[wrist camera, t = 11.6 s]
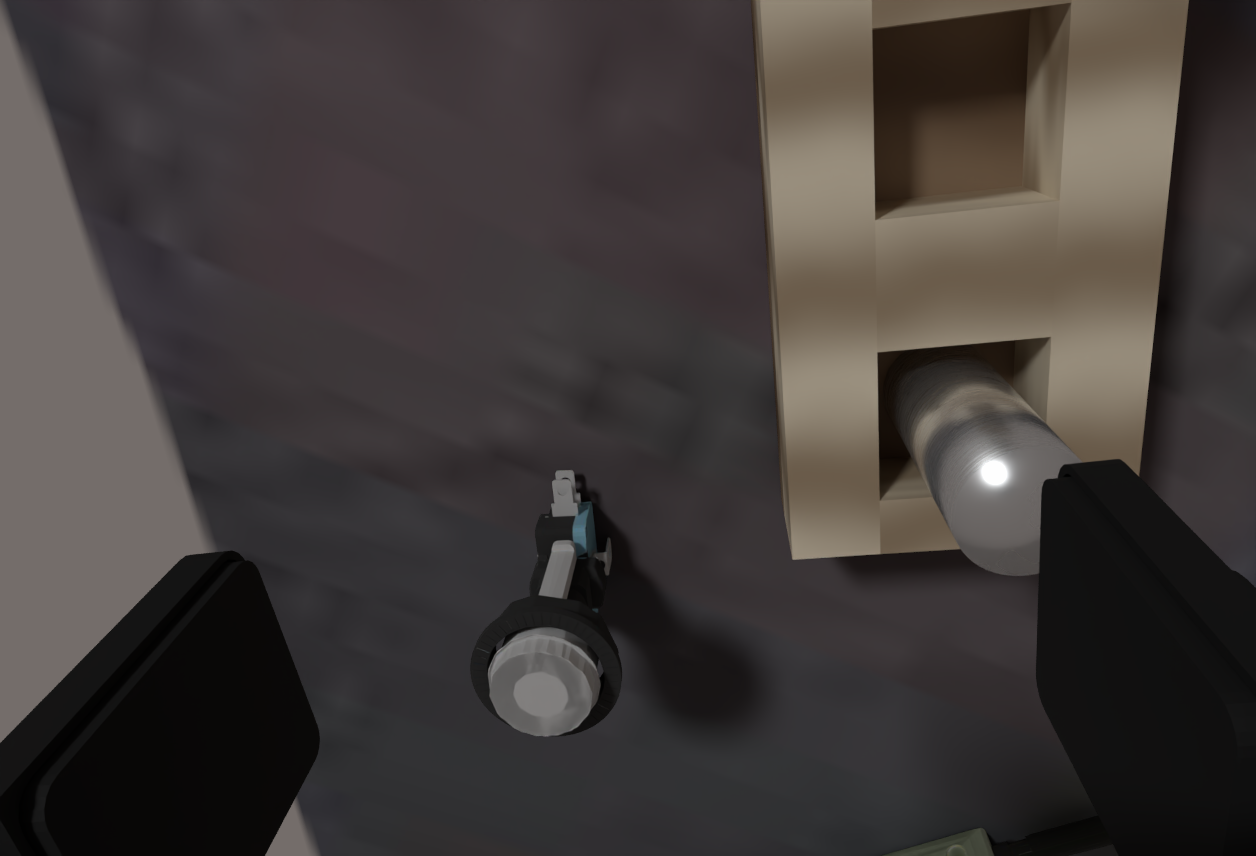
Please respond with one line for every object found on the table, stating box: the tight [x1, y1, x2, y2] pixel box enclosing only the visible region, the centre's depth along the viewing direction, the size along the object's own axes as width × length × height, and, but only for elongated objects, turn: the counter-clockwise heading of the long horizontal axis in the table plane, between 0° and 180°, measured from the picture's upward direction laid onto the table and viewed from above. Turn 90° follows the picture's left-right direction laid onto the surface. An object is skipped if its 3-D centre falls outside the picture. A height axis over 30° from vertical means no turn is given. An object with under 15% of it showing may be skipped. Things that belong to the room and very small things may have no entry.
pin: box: [883, 344, 1083, 576], centre depth 29 cm, size 4×4×10 cm
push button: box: [470, 470, 622, 737], centre depth 34 cm, size 7×5×10 cm
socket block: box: [751, 0, 1189, 560], centre depth 31 cm, size 20×12×5 cm, turn 7°
